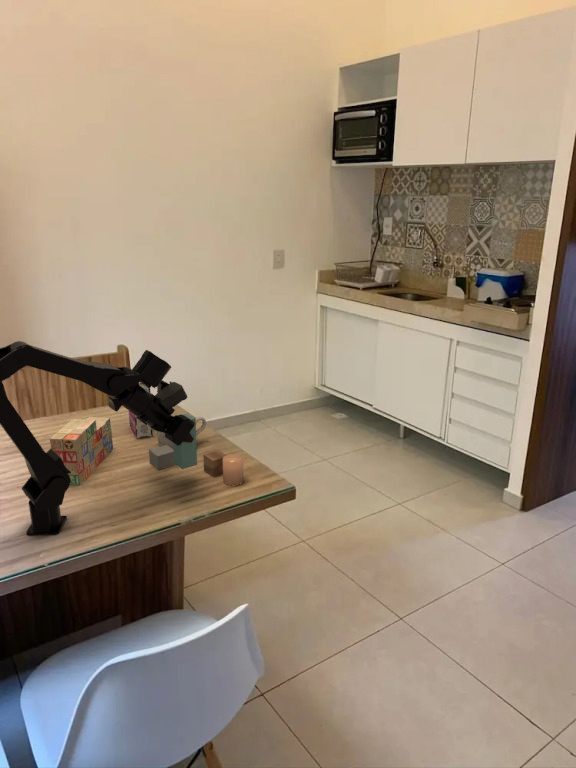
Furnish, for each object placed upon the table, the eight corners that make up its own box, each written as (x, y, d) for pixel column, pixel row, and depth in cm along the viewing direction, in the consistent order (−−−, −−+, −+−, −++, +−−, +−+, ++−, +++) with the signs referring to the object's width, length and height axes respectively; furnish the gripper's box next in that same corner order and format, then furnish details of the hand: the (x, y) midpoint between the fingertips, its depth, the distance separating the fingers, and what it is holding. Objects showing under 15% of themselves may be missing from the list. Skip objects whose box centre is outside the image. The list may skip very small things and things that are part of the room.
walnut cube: (213, 477, 143) (212, 460, 141) (203, 470, 146) (203, 454, 145) (228, 472, 145) (228, 455, 144) (219, 466, 149) (218, 450, 147)
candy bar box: (154, 436, 166) (150, 382, 161) (136, 439, 164) (132, 384, 159) (145, 423, 176) (142, 371, 170) (129, 426, 174) (125, 373, 168)
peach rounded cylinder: (243, 485, 139) (243, 463, 137) (222, 486, 138) (222, 463, 136) (243, 476, 143) (243, 454, 142) (223, 476, 143) (222, 454, 141)
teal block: (182, 469, 136) (180, 421, 133) (174, 463, 139) (171, 416, 136) (197, 464, 139) (195, 418, 135) (188, 459, 142) (186, 413, 138)
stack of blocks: (91, 448, 158) (87, 406, 154) (113, 449, 158) (109, 407, 154) (55, 485, 138) (49, 437, 134) (80, 486, 138) (75, 438, 134)
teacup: (157, 456, 154) (156, 428, 151) (155, 440, 163) (153, 414, 161) (210, 451, 157) (209, 423, 155) (204, 436, 167) (204, 410, 165)
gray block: (158, 470, 146) (157, 456, 145) (149, 463, 150) (148, 449, 149) (176, 465, 149) (175, 451, 148) (167, 458, 153) (166, 444, 152)
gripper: (185, 384, 122) (229, 421, 133) (145, 365, 136) (188, 400, 146) (153, 427, 120) (200, 462, 130) (115, 403, 134) (161, 436, 144)
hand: (187, 437), depth 138 cm, fingers closed on teal block, 4 cm apart
